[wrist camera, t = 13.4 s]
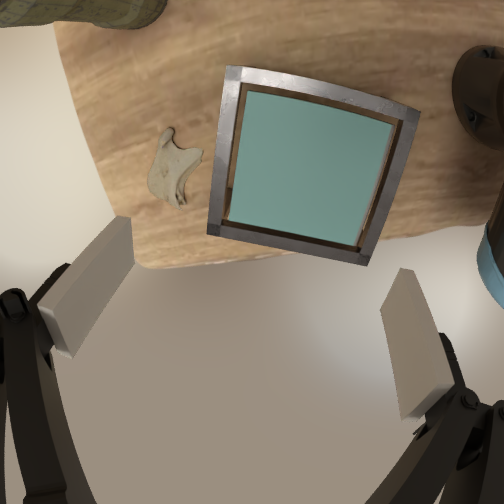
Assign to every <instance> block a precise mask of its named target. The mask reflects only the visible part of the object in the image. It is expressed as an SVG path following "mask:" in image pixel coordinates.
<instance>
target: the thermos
mask: <svg viewBox="0 0 504 504" xmlns="http://www.w3.org/2000/svg"><path fill="white" fill-rule="evenodd" d="M166 4H167V0H0V27H1V28H5V27H17V26H37V25H38V26H39V25H45V24H50V23H53V22H54V21H75V22H91V23H93V24H94V25H95V26H99V27H102V28H111V29H139V28H142V27H145V26H148V25H149V24H151V23H152V22H154V21H155V20H156V19H157V18H158V17H159V16H160V15H161V14H162V12H163V10H164V8H165V6H166Z"/></svg>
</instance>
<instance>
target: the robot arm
mask: <svg viewBox="0 0 504 504" xmlns="http://www.w3.org/2000/svg"><path fill="white" fill-rule="evenodd" d="M452 92H453V101H454V105H455V109H456V112H457V115H458V117H459V119H460V121H461V123H462V125H463V126H464V128H465V129H466V131H467V132H468V133H469V134H470V135H471V136H472V137H473V138H474V139H476V140H477V141H479V142H480V143H482V144H484V145H486V146H487V147H490V148H492V149H496V150H503V151H504V48H501V47H498V46H477V47H474V48H472V49H470V50H469V51H467V52H466V53H465V54H464V55H463V56H462V57H461V59H460V60H459V62H458V64H457V66H456V69H455V72H454V76H453V84H452ZM134 264H135V262H134V251H133V240H132V227H131V218H129V217H123V216H116V217H115V218H114V220H113V221H112V222H110V223H109V225H107V226H106V228H105V229H104V230H103V231H102V232H101V233H100V234H99V235H98V236H97V237H96V238H95V239H94V240H93V241H92V242H91V243H90V244H89V245H88V247H86V248H85V250H84V251H83V252H82V253H81V254H80V255H79V256H78V257H77V258H76V259H75V261H74V262H73V263H72V264H68V263H65V264H63V265H62V266H60V267H58V268H57V269H56V270H55V271H54V272H53V273H52V274H51V276H50V277H49V278H48V279H47V280H46V281H45V282H44V284H42V286H41V287H40V288H39V289H38V290H37V291H36V293H35V294H34V295H33V296H32V297H31V298H30V300H29V301H28V300H27V298H26V295H25V293H24V291H22V290H21V289H18V288H12V289H9V290H7V291H5V292H3V293H2V294H1V295H0V504H6V496H5V477H4V475H5V474H4V443H5V423H6V410H7V400H8V408H9V415H10V422H11V428H12V433H13V439H14V444H15V449H16V453H17V458H18V462H19V466H20V470H21V474H22V477H23V481H24V485H25V488H26V496H25V497H24V499H23V504H97V503H96V501H95V499H94V497H93V495H92V492H91V490H90V487H89V485H88V483H87V480H86V477H85V475H84V472H83V469H82V467H81V464H80V461H79V458H78V455H77V453H76V450H75V446H74V443H73V440H72V437H71V434H70V430H69V427H68V423H67V420H66V416H65V413H64V409H63V405H62V401H61V396H60V392H59V388H58V383H57V378H56V374H55V368H54V363H53V358H52V354H51V352H50V349H51V348H52V346H53V345H55V347H56V349H57V351H58V353H59V354H62V355H64V356H67V357H69V358H72V359H73V358H74V356H75V354H76V353H77V351H78V349H79V348H80V346H81V345H82V343H83V341H84V339H85V338H86V336H87V335H88V333H89V331H90V330H91V328H92V327H93V325H94V324H95V322H96V320H97V319H98V317H99V316H100V314H101V313H102V311H103V309H104V308H105V307H106V305H107V303H108V302H109V301H110V299H111V298H112V296H113V295H114V293H115V292H116V290H117V288H118V287H119V285H120V284H121V283H122V281H123V280H124V278H125V277H126V275H127V274H128V272H129V271H130V270H131V268H132V267H133V265H134ZM477 264H478V270H479V274H480V276H481V279H482V281H483V283H484V285H485V286H486V288H487V290H488V291H489V292H490V294H491V295H492V297H493V298H494V299H495V300H496V302H497V303H498V304H499V305H500V306H501V307H502V308H503V309H504V183H503V186H502V189H501V191H500V194H499V197H498V199H497V202H496V205H495V207H494V210H493V212H492V214H491V217H490V219H489V220H488V222H487V223H486V225H485V231H484V236H483V238H482V241H481V243H480V246H479V248H478V252H477ZM380 312H381V316H382V320H383V324H384V329H385V333H386V338H387V342H388V347H389V352H390V357H391V363H392V367H393V373H394V379H395V385H396V390H397V397H398V403H399V410H400V416H401V422H413V421H418V420H419V419H420V418H421V417H422V416H423V415H424V414H425V418H426V422H425V423H424V424H423V425H421V426H420V427H419V428H418V429H417V430H416V431H415V432H414V433H413V435H415V434H416V433H417V434H416V436H415V437H414V439H413V440H412V442H411V443H410V445H409V446H408V448H407V449H406V451H405V452H404V453H403V455H402V456H401V458H400V459H399V461H398V462H397V463H396V465H395V466H394V467H393V469H392V470H391V471H390V473H389V474H388V475H387V477H386V478H385V479H384V481H383V482H382V483H381V484H380V486H379V487H378V488H377V489H376V491H375V492H374V493H373V494H372V496H371V497H370V498H369V499H368V500H367V501H366V503H365V504H433V503H434V502H435V500H436V499H437V497H438V495H439V494H440V492H441V490H442V488H443V486H444V485H445V487H444V490H443V493H442V496H441V499H440V502H439V504H504V400H499V401H497V402H496V403H495V404H494V405H493V406H489V405H487V404H483V403H481V402H480V401H479V398H478V396H477V395H476V394H475V392H473V391H472V390H470V389H469V388H466V386H465V382H464V379H463V376H462V373H461V370H460V367H459V364H458V361H457V358H456V355H455V353H454V349H453V347H452V344H451V342H450V340H449V339H448V338H447V336H446V335H445V334H444V333H438V331H437V328H436V326H435V322H434V320H433V317H432V314H431V312H430V309H429V307H428V304H427V302H426V299H425V297H424V294H423V292H422V289H421V287H420V285H419V282H418V280H417V278H416V275H415V273H414V271H413V270H408V269H403V268H400V270H399V272H398V274H397V276H396V278H395V281H394V282H393V284H392V287H391V289H390V291H389V293H388V295H387V297H386V299H385V301H384V303H383V305H382V307H381V309H380ZM445 483H446V484H445Z"/></svg>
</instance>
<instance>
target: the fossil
mask: <svg viewBox="0 0 504 504" xmlns="http://www.w3.org/2000/svg"><path fill="white" fill-rule="evenodd" d="M173 134H174V131H173V129H171V128H167V129H166V130H165V131H164V132H163V133H162V135H161V136H160V137H159V140H158V150H157V153H156V157H155V160H154V163H153V165H152V167H151V169H150V172H149V174H148V179H147V184H148V188H149V191H150V192H151V193H152V194H153V195H154V196H155V197H157V198H160V199H162V200H166V201H167V202H169V204H171V205H172V206H174V207H175V208H177V209H179V210H182V209H181V208H180V207H179V205H181V204H182V205H186V203H185V200H184V185H185V182H186V180H187V178H188V176H189V175H190V174H191V173H192V171H193V170H194V169H195V168H196V167H197V166H198V165H199V164H200V163H201V156H202V154H203V151H202V148H200V149H199V148H196V147H193V148H188V149H185V150H182V149H178V148H177V147H176V146H175V145H174V143H173V142H172V135H173ZM182 211H183V210H182Z"/></svg>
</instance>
